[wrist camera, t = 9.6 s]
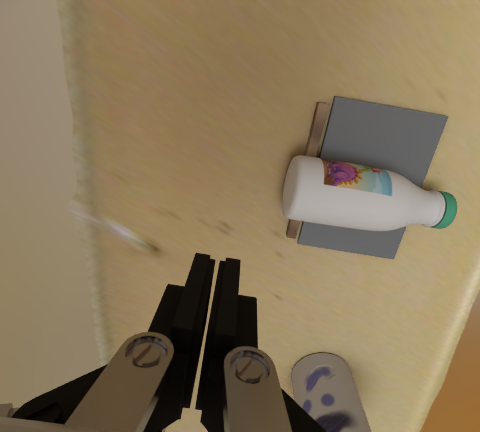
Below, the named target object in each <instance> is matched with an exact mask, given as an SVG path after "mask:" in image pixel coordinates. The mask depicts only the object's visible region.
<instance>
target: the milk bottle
mask: <svg viewBox="0 0 480 432" xmlns="http://www.w3.org/2000/svg"><path fill="white" fill-rule="evenodd" d="M282 209H283V214H284V216H285V217H286V218H288V219H292V220H298V221H304V222H311V223H318V224H325V225H332V226H338V227H346V228H353V229H360V230H370V231H390V230H395V229H398V228H402V227H405V226H408V225H414V224H421V225H423V226H425V227H431V228H438V229H441V228H445V227H447V226H449V225H450V224H451V223H452V222H453V220H454V218H455V216H456V212H457V202H456V199H455V198H454V196H453V195H452V194H450V193H447V192H442V191H435V190H430V191H426V190H423V189H421V188H419V187H418V186H416V185H415V184H413V183H412V182H411V181H409V180H408V179H407V178H405V177H403V176H401V175H400V174H397V173H395V172H392V171H388V170H384V169H379V168H375V167H369V166H364V165H358V164H352V163H346V162H340V161H334V160H328V159H322V158H316V157H310V156H303V155H298V156H295V157H294V158H293V159H292V161H291V163H290V165H289V168H288V171H287V174H286V178H285V183H284V189H283V198H282Z"/></svg>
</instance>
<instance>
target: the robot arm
mask: <svg viewBox="0 0 480 432" xmlns="http://www.w3.org/2000/svg"><path fill="white" fill-rule="evenodd" d="M214 266H215V260H214V259H210V255H207V254H200V253H196V254H195V257H194V260H193V263H192V266H191V269H190V272H189V275H188V278H187V281H186V284H185V287H184V286H178V285H171V284H168V285H167V287H166V289H165V292H164V294H163V297H162V299H161V301H160V304H159V306H158V309H157V311H156V313H155V316H154V318H153V320H152V323H151V325H150V328H149V330H148V332H142V333H139V334H135V335H133V336H132V337H130V338H128V339H127V340H126V341H125V342H124V343H123V344H122V345H121V347H120V348H119V349H118V351H117V352H116V354H115V355H114V356H113V358H112V359H111V361H110V362H109V363H108V364H107V365H105V366H103V367H101V368H99V369H96V370H94V371H92V372H90V373H88V374H86V375H83V376H81V377H79V378H77V379H75V380H73V381H70V382H68V383H66V384H64V385H62V386H60V387H57V388H56V389H53V390H51V391H49V392H47V393H44V394H42V395H40V396H38V397H36V398H34V399H32V400H30V401H29V402H27V403H25V404H24V405H23V406H21V407H20V408H13V405H12V403H9V404H0V432H165V430H166V427H167V426H169V425H170V424H172V423H173V422H175V421H176V420H178V419H181V414H182V409H183V408H190V404H191V398H192V393H193V388H194V383H195V378H196V372H197V367H198V362H199V357H200V351H201V346H202V341H203V336H204V331H205V325H206V319H207V313H208V306H209V299H210V293H211V286H212V279H213V273H214ZM239 275H240V260H238V259H232V258H226V261H220V263H219V269H218V274H217V280H216V285H215V291H214V296H213V302H212V307H211V313H210V318H209V324H208V330H207V336H206V342H205V349H204V355H203V362H202V368H201V375H200V381H199V388H198V394H197V401H196V407H195V409H197V410H202V415H201V421H200V422H201V423H202V424H203V425H204V427H205V428H206V429H207V431H208V432H327V431H326V430H325V429H324V428H323V427H322V426H321V425H320V424H318V423H317V422H316V421H315V420H314V419H313V418H312V417H311V416H310V415H309V414H308V413H307V412H306V411H305V410H304V409H303V408H302V407H300V406H299V405H298V404H297V403H296V402H295V401H294V400H293V399H292V398H291V397H290V396H289V395H288V394H287V393H286V392H285V391H284V390H282V389H281V387H280V383H279V379H278V375H277V372H276V368H275V365H274V363H273V361H272V359H271V358H270V357H269V356H268V355H267V354H266V353H264V352H263V351H262V350H259V349H258V337H257V299H256V297H249V296H243V295H238V291H239Z"/></svg>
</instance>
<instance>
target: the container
mask: <svg viewBox="0 0 480 432" xmlns="http://www.w3.org/2000/svg"><path fill="white" fill-rule="evenodd" d="M291 379H292V386H293V393H294V400H295V402H296V403H297V404H298V405H299V406H300V407H302V408H303V409H304V410H305V411H306V412H307V413H308V414H309V415H310V416H311V417H312V418H313V419H314V420H315V421H316V422H317V423H318V424H320V425H321V426H322V427H323V428H324V429H325V430H326V431H327V432H371V429H370V426H369V423H368V420H367V418H366V415H365V412H364V409H363V406H362V403H361V400H360V398H359V395H358V392H357V389H356V386H355V383H354V380H353V377H352V375H351V372H350V369H349V366H348V365H347V363H346V362H345V361H344V360H343V359H341V358H340V357H338V356H336V355H333V354H328V353H317V354H312V355H309V356H306V357H304V358H303V359H301V360H300V361H299V362H298V363H297V364H296V365H295V366H294V368H293V370H292V374H291Z"/></svg>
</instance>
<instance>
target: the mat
mask: <svg viewBox="0 0 480 432" xmlns="http://www.w3.org/2000/svg"><path fill="white" fill-rule="evenodd" d="M447 119H448V116H444V115H438V114H432V113H427V112H421V111H415V110H410V109H404V108H398V107H393V106H387V105H381V104H375V103H370V102H364V101H358V100H353V99H347V98H341V97H336V96H334V100H333V104H332V108H331V112H330V116H329V120H328V124H327V128H326V132H325V136H324V140H323V144H322V148H321V152H320V156H319V158H322V159H328V160H334V161H340V162H346V163H352V164H358V165H364V166H369V167H375V168H379V169H384V170H388V171H392V172H395V173H397V174H400V175H401V176H403V177H405V178H407V179H408V180H409V181H411V182H412V183H413V184H415V185H416V186H418V187H419V188H421V187H422V184H423V181H424V179H425V176H426V174H427V171H428V168H429V166H430V163H431V161H432V158H433V155H434V153H435V150H436V148H437V145H438V142H439V140H440V137H441V134H442V132H443V129H444V127H445V124H446V121H447ZM405 228H406V226H405V227H402V228H398V229H395V230H390V231H370V230H360V229H353V228H346V227H338V226H332V225H325V224H318V223H311V222H304V221H303V223H302V227H301V230H300V234H299V238H298V244H302V245H308V246H314V247H320V248H326V249H333V250H339V251H345V252H351V253H357V254H364V255H370V256H376V257H382V258H388V259H394V257H395V255H396V252H397V249H398V247H399V244H400V242H401V239H402V236H403V234H404V231H405Z"/></svg>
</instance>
